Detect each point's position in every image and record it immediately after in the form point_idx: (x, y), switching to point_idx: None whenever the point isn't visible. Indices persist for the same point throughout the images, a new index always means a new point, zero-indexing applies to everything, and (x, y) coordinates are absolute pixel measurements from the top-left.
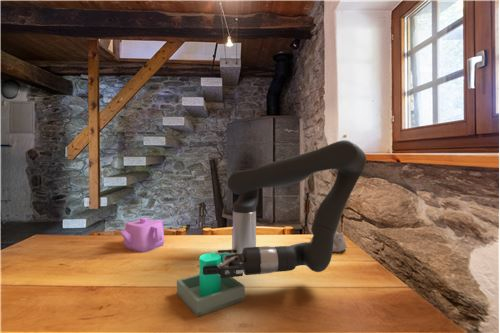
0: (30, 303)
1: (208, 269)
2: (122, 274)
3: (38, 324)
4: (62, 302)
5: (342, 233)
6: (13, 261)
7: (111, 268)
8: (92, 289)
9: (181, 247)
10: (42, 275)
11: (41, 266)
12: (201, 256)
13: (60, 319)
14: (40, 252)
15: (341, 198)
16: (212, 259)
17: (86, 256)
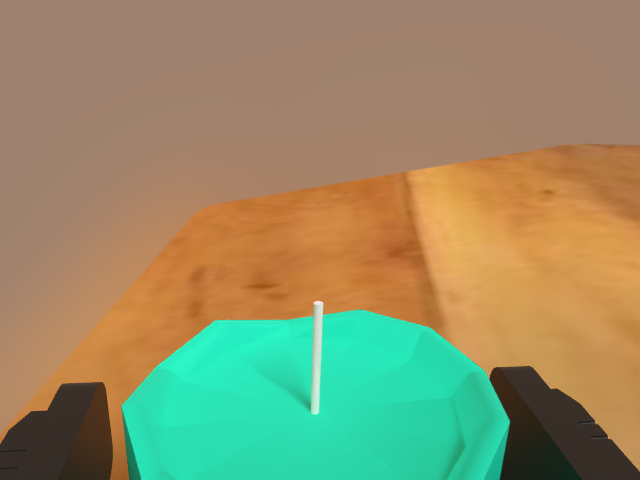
0: (311, 204)
1: (2, 448)
2: (539, 280)
3: (198, 229)
4: (310, 231)
5: None
6: (523, 157)
7: (576, 253)
8: (395, 252)
9: None
10: (465, 188)
11: (516, 178)
12: (356, 323)
13: (210, 246)
14: (597, 164)
15: None
16: (257, 438)
17: (633, 206)
